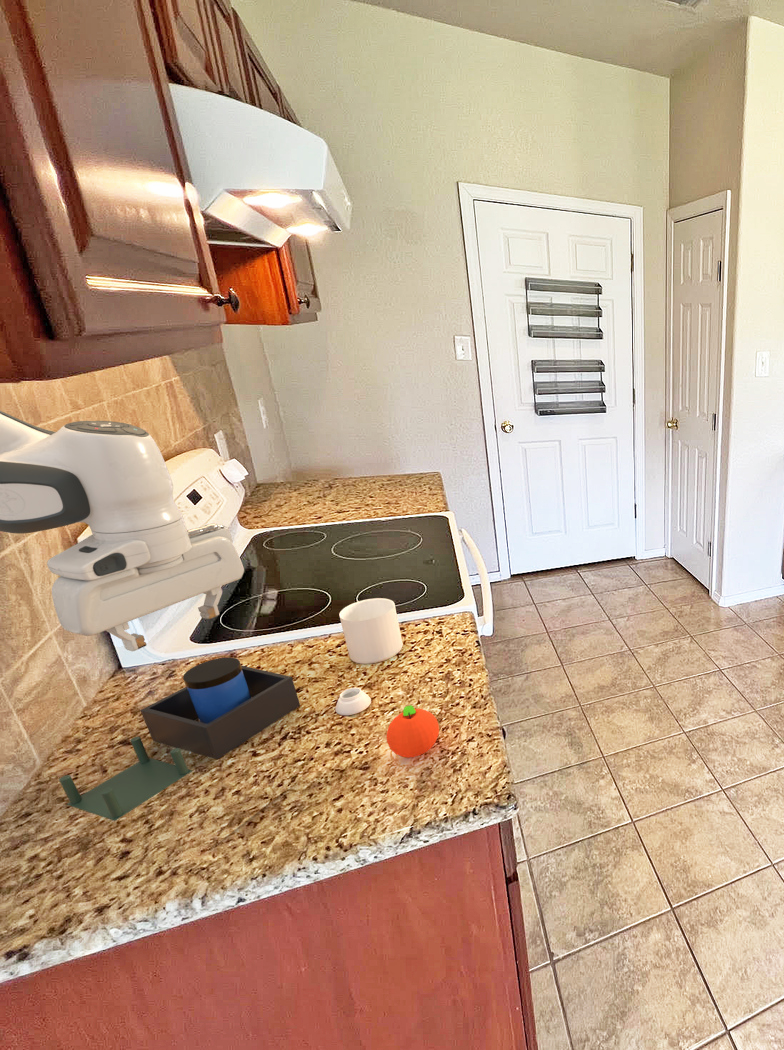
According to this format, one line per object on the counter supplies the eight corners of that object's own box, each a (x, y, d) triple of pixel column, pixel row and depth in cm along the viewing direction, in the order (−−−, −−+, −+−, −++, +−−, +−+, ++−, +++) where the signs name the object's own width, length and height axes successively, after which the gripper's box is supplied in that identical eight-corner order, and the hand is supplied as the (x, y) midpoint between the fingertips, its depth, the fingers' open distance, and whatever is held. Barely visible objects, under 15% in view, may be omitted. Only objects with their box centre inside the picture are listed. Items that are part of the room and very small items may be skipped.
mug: (402, 658, 109) (393, 615, 105) (346, 668, 105) (335, 624, 102) (405, 629, 119) (397, 589, 116) (354, 637, 115) (345, 596, 112)
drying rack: (68, 809, 74) (53, 780, 73) (149, 762, 83) (137, 734, 81) (117, 826, 72) (103, 796, 71) (195, 775, 80) (184, 747, 79)
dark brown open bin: (155, 746, 86) (139, 710, 83) (242, 695, 97) (231, 662, 95) (219, 764, 83) (205, 727, 80) (301, 710, 94) (291, 676, 92)
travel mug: (192, 733, 88) (171, 677, 84) (236, 707, 93) (218, 654, 90) (225, 742, 86) (204, 685, 82) (267, 715, 92) (250, 661, 88)
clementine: (388, 741, 88) (379, 703, 85) (437, 726, 91) (430, 689, 89) (393, 774, 82) (384, 734, 79) (445, 756, 85) (438, 717, 83)
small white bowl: (378, 702, 97) (356, 695, 98) (375, 687, 95) (352, 681, 97) (352, 720, 92) (329, 713, 94) (348, 705, 91) (325, 698, 93)
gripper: (210, 516, 87) (233, 597, 92) (28, 566, 69) (69, 664, 74) (241, 522, 86) (263, 603, 91) (64, 574, 67) (104, 673, 72)
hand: (175, 631), depth 82 cm, fingers open, 8 cm apart
